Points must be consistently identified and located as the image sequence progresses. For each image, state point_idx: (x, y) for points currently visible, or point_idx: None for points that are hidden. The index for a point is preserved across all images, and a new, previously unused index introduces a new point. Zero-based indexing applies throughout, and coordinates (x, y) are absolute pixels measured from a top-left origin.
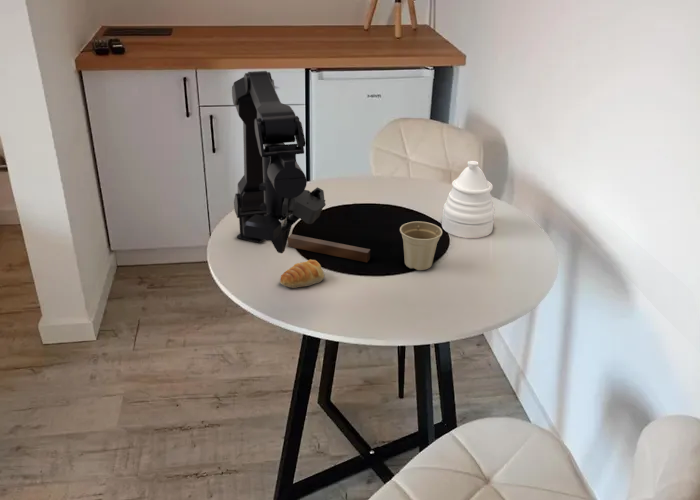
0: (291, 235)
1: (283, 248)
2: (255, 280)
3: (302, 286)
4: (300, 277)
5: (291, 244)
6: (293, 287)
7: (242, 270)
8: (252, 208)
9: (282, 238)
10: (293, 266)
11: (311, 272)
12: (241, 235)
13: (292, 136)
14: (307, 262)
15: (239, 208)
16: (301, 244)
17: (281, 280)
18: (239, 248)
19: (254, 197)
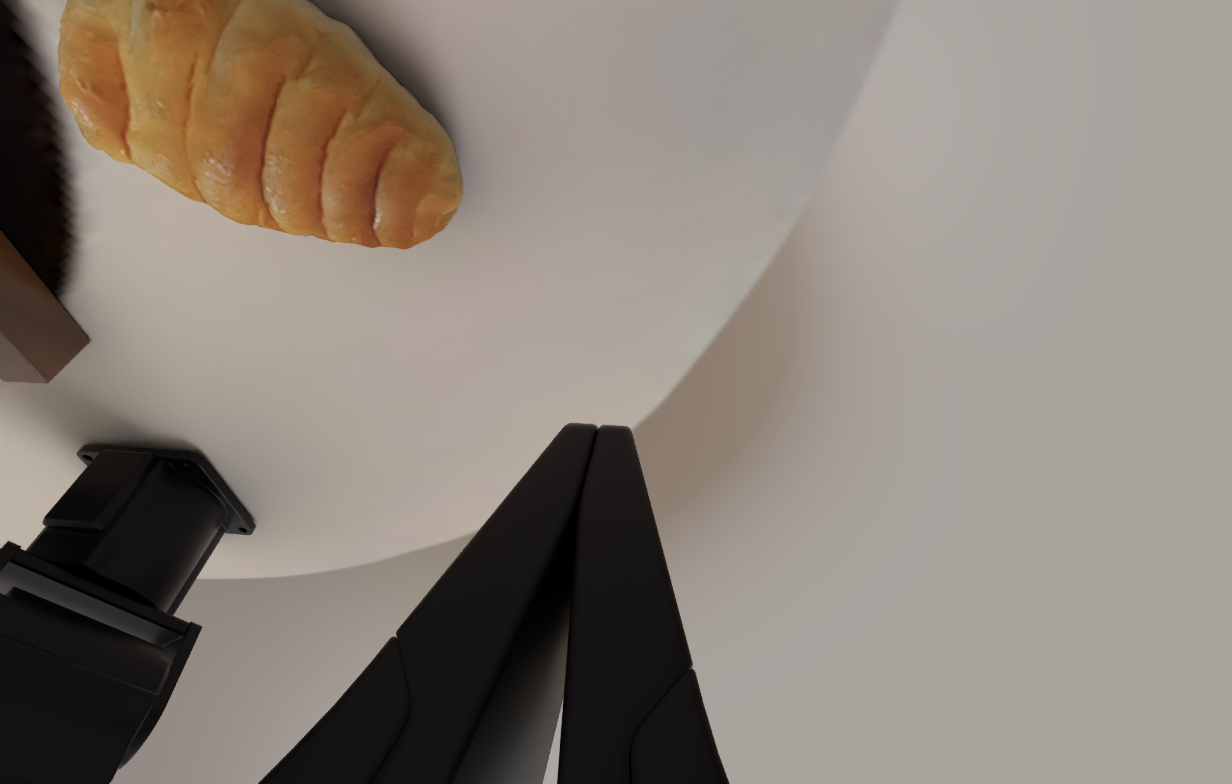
0: (12, 375)
1: (610, 481)
2: (495, 351)
3: (369, 50)
4: (346, 100)
5: (63, 336)
6: (427, 111)
7: (452, 431)
8: (102, 655)
9: (718, 757)
10: (267, 221)
11: (220, 37)
12: (228, 524)
13: None
14: (146, 142)
15: (165, 682)
16: (6, 290)
17: (446, 222)
18: (307, 496)
19: (40, 735)
